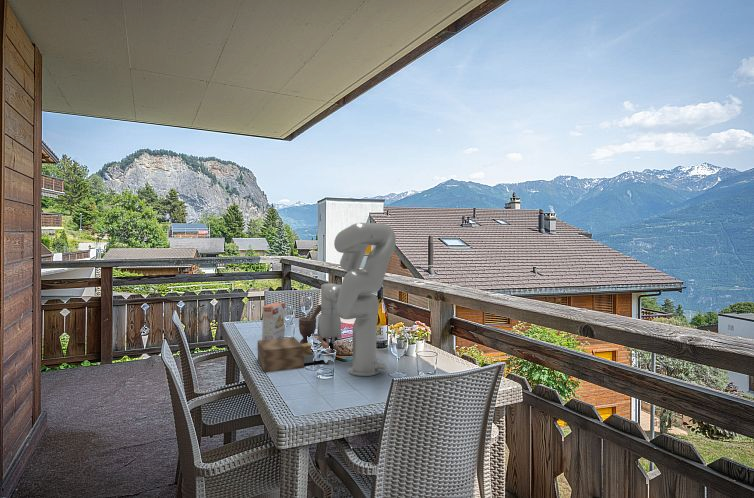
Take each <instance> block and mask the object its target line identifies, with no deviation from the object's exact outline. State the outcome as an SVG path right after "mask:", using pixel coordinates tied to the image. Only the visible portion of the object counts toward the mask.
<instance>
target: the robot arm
mask: <svg viewBox="0 0 754 498" xmlns="http://www.w3.org/2000/svg"><path fill="white" fill-rule="evenodd" d="M336 234H337V235H336V236H335V238H334V242H333V243H334V244H333V245H334V249H335V250H336V252H338V253H342V256H341V258H340V261H339V266H340V267H341V269H343V271H345V272H347V273H345V275H344V276H343V278H342V281H341V282H342V283H341V284H336V283H331V282H330V283H323V284H321V287H320V305H321V311H320V313H319V314H318V320H317V328H316V329H317V332H316V333H317V336H318V340H323V341H325V342H326V343H327V344H329V346H330V348H331V349H332V350H333V351H334V344H335V342H336V341H337V340H340V339H342V322H341V319H343V320H354V322H353V325H352V366H350V367H349V368H348V373H349V374H350V375H353V376H357V377H371V376H375V375H378V374H379V373H380V372H381V370H383V371H386V370H387V368H388V367H387V364H386V363H383V362H379V359H377V324H378V322H377V321H378V313H379V308H380V302H379V298H378V297H377V296H376V295H375V294H374V293H377V292H379V291H380V290H381V287H382V285H383V282H384V278H385V276H386V274H387V273H386V272H387V269H388V265H389V264H390V263H389V262H390V260H391V258H392V256H393V254H394V252H395V248H396V242H397V240H396V233H395V231H394V229H393V228H392V227H391V226H390V225H388V224H387V223H386V224H385V223H378V222H377V223H376V222H357V223H353V224H351V225H350V226H348V227H345V228H344V229H342V230H340V231H339V232H338V233H336ZM369 246H375V247H373V249H372V250H371V251H370V252H369V254H368V255H367V257H366V260H365V264H364V266H363V268H361V265H362V263H363V260H364V257H365V254H366V252H367V250H368V247H369ZM360 268H361V269H360ZM329 338H330V339H329Z"/></svg>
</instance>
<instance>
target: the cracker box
mask: <svg viewBox="0 0 754 498" xmlns="http://www.w3.org/2000/svg"><path fill="white" fill-rule="evenodd" d="M285 310H286V304H285V302H272V303H270V304H266V305H264V306H262V318H261V320H262V327H261V328H262V329H261V330H262V332H261V333H262V335H261V337H262V339H261V340H269V339H280V338H285V336H286V335H285V327H286V325H285V321H286V320H285V319H286V318H285V315H286V314H285V313H286V311H285Z"/></svg>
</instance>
